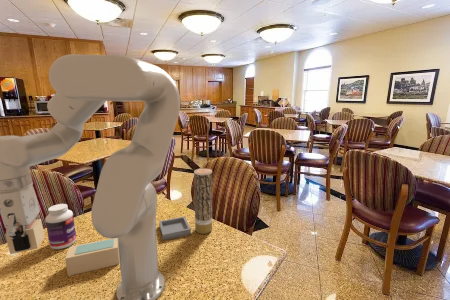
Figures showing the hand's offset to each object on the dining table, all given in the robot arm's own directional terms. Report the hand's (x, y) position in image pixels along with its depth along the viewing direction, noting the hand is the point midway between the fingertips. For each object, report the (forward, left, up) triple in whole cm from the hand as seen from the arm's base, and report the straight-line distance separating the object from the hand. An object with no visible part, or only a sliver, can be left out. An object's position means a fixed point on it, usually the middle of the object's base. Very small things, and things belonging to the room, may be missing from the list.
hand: (27, 242), depth 65 cm
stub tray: (+10, -43, -12) cm, 46 cm away
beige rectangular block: (0, -16, -12) cm, 20 cm away
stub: (0, 0, -1) cm, 1 cm away
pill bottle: (+16, -4, -12) cm, 21 cm away
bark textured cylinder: (+6, -54, -12) cm, 55 cm away
